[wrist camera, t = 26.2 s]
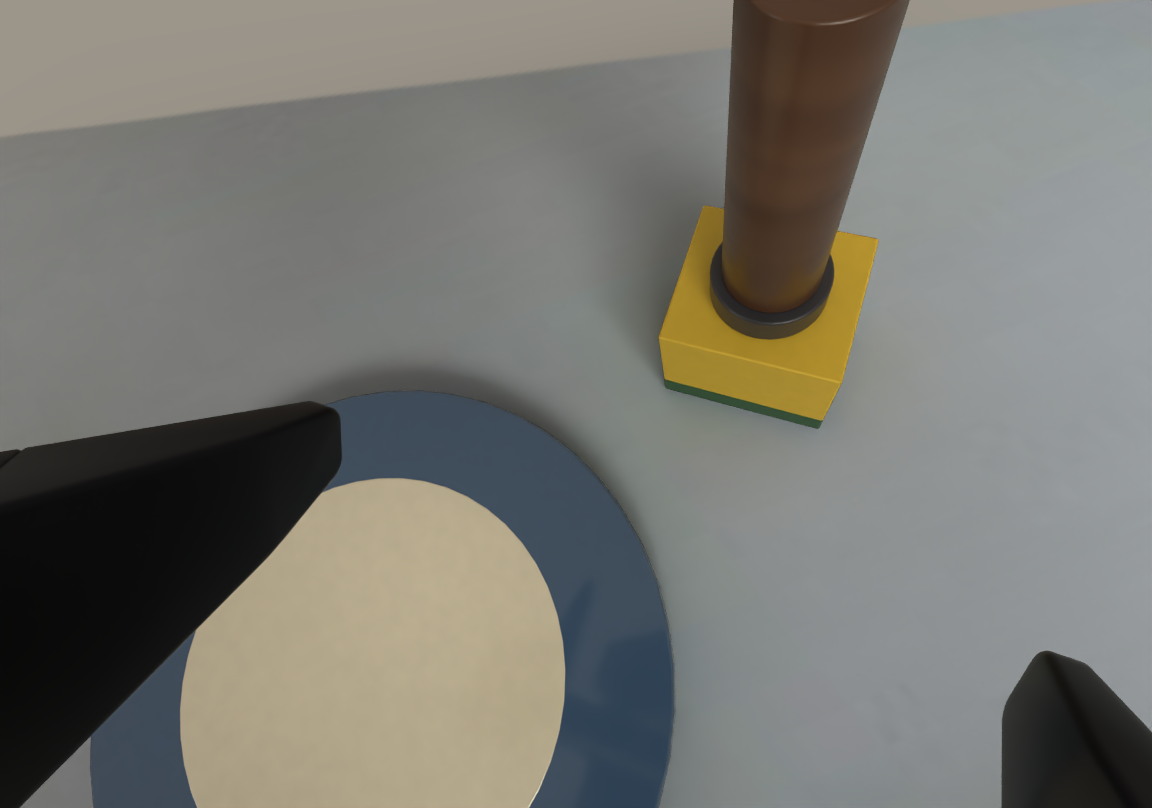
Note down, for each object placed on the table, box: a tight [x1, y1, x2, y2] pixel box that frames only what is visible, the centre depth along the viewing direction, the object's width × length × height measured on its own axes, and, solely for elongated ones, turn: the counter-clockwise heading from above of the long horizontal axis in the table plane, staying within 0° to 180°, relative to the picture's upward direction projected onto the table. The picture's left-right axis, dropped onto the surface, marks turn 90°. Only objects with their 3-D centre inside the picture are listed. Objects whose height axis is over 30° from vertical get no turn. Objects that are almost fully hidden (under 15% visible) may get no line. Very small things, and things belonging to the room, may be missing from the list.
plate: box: [90, 391, 676, 808], centre depth 21 cm, size 18×18×1 cm
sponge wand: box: [659, 0, 909, 429], centre depth 17 cm, size 4×5×14 cm
